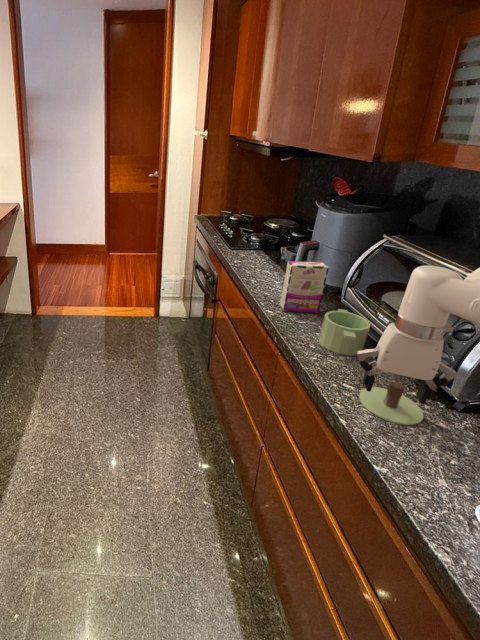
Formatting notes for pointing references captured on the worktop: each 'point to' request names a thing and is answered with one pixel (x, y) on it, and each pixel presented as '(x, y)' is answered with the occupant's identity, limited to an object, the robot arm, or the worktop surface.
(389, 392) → the lid
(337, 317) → the pot
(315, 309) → the candy bar box
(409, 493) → the worktop surface
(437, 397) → the worktop surface
